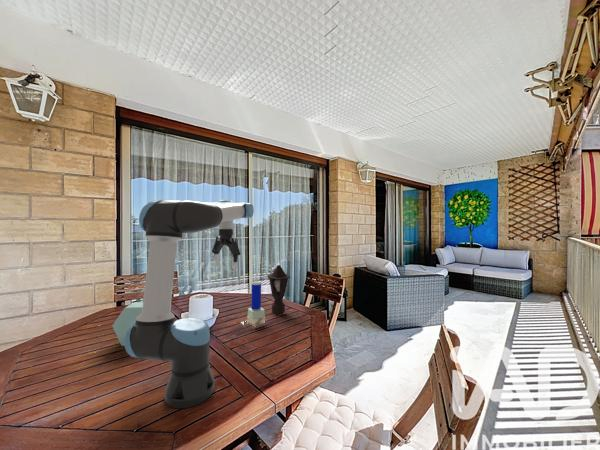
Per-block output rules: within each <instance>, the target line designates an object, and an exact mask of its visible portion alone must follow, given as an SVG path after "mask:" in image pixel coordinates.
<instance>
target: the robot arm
mask: <svg viewBox="0 0 600 450" xmlns="http://www.w3.org/2000/svg"><path fill="white" fill-rule="evenodd" d="M253 216H254V205H253V204H252V203H251V202H233V200H229V199H228V200H226V199H220V200H219V202H217V201H216V202H215V201H213V202H201V201H194V200H167V199H166V200H165V199H161V200H153V201H148V202H147V203H146V204H145V205H144V206H143V207H142V209H141V210H140V212H139V217H138V223H139V224H138V225H139V226H140V228H141V230H142V231H143V232H145V238H146V239H147V240H148V242H149V247H148V253H147V254H148V255H147V264H146V272H145V281H144V283H145V284H144V290H143V300H142V302H143V307H142V313H141V314H140V315H139V316H138V317H137V318H136V322H134V323H133V324H132V325H131V326H130V327H129V331H127V333H126V336H125V346H124V349H125V351H126V354H128V355H129V356H130V357H131V358H135V359H140V360H147V361H149V360H150V361H161V362H168V363H169V362H170V364H171V367H170V370H171V371H170V376H169V378H168V381H167V385H166V388H165V390H164V401H165V403H166V405H168V407H171V408H175V409H188V408H192V407H195V406H198V405H200V404H202V403H205V401H207V400H208V399H209V398H210V397H211V396H212V395H213V393H214V392H215V377H214V376H213V373H212V370H211V367H210V344H211V343H210V339H211V334H210V332H211V331H210V326H209V324H208V322H206V321H205V320H204V319H202V318H196V317H188V318H187V317H184V318H180V319H177V320H175V314H174V313H173V312H172V311H171V307H172V297H173V286H174V275H175V264H176V257H177V256H176V255H177V246H178V242H180V241H181V240H183V234H193V233H198V232H203V231H206V230H210V229H214V228H217V227H218V236H215V242H214V244H213V248H212V250H211V253H213V255H214V266H215V267H219V266H221V265H220V264H221V253H220V252H221V250H222V249H223V247H224V246H227V248H228V249H229V251H230V253H231V254H232V256H231V269H233V270H234V269H237V267H238V266H237V265H238V264H237V263H238V256H241V251H240V248H239V245H238V242H237V237H232V236H233V235H234V229H233V228H234V221H235V220H239V219H250V218H252V217H253Z"/></svg>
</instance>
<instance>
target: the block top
mask: <svg viewBox="0 0 600 450" xmlns="http://www.w3.org/2000/svg"><path fill="white" fill-rule="evenodd" d="M265 311H266V310H265V309H264V308H263V307H261V309H260V310H252V309H251V307H248V308H247V316H249V317H250V318H251V319H252V320H253V319H258V318H263V317H265V318H266V316H265Z"/></svg>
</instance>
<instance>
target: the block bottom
mask: <svg viewBox="0 0 600 450" xmlns="http://www.w3.org/2000/svg"><path fill="white" fill-rule="evenodd" d="M265 320H266V316H265V317H263V318H258V319H253V320H252V319H251V318H250V317H249V316H248V315H246V321H247V324H250V325H252V326H254V327H256V326H258V325H261V324H263V323H265Z"/></svg>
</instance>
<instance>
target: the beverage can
mask: <svg viewBox="0 0 600 450" xmlns="http://www.w3.org/2000/svg"><path fill="white" fill-rule="evenodd" d="M250 303H251V305H250V306H251V307H250V308H251V309H252V310H260V309H261V308H262V282H261V281H257V280H255V281H252V282H251V302H250Z"/></svg>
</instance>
